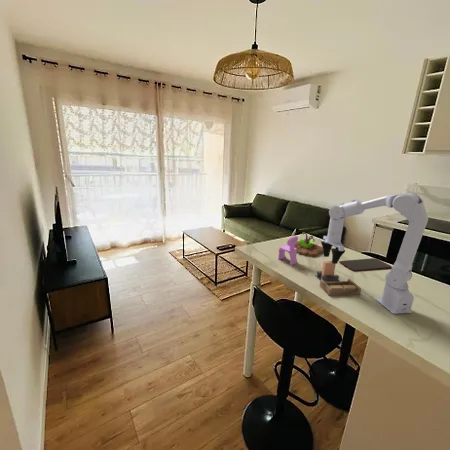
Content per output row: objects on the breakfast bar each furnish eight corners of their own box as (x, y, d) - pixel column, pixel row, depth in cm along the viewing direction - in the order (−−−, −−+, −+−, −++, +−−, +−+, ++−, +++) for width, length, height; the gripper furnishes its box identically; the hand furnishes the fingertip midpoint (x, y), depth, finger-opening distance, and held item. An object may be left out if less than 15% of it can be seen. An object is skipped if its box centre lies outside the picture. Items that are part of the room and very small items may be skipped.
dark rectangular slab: (337, 260, 138) (375, 257, 143) (337, 263, 138) (374, 260, 144) (353, 270, 126) (393, 266, 132) (352, 273, 127) (393, 269, 132)
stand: (339, 281, 116) (340, 276, 115) (321, 281, 115) (321, 276, 114) (332, 275, 122) (333, 270, 121) (315, 275, 121) (315, 270, 120)
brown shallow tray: (359, 294, 106) (361, 288, 105) (328, 295, 104) (329, 289, 103) (348, 285, 113) (349, 279, 112) (319, 285, 112) (320, 279, 111)
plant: (299, 242, 167) (301, 226, 164) (327, 251, 154) (330, 234, 151) (282, 249, 154) (284, 231, 151) (311, 259, 141) (314, 240, 137)
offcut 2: (354, 293, 107) (356, 287, 106) (343, 293, 106) (345, 287, 105) (351, 291, 109) (353, 284, 108) (341, 291, 108) (342, 285, 107)
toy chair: (285, 256, 142) (288, 231, 138) (298, 262, 136) (302, 235, 132) (276, 259, 137) (278, 233, 133) (288, 265, 131) (292, 238, 127)
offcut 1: (341, 293, 106) (342, 287, 105) (330, 294, 105) (331, 287, 104) (339, 291, 108) (340, 285, 107) (328, 291, 107) (329, 285, 106)
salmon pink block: (333, 278, 118) (335, 262, 115) (323, 278, 117) (325, 262, 115) (330, 276, 120) (333, 261, 117) (321, 276, 119) (323, 261, 117)
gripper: (318, 227, 118) (314, 253, 122) (335, 237, 105) (330, 266, 108) (332, 227, 119) (328, 253, 123) (351, 237, 105) (345, 266, 109)
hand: (330, 259), depth 116 cm, fingers open, 7 cm apart
